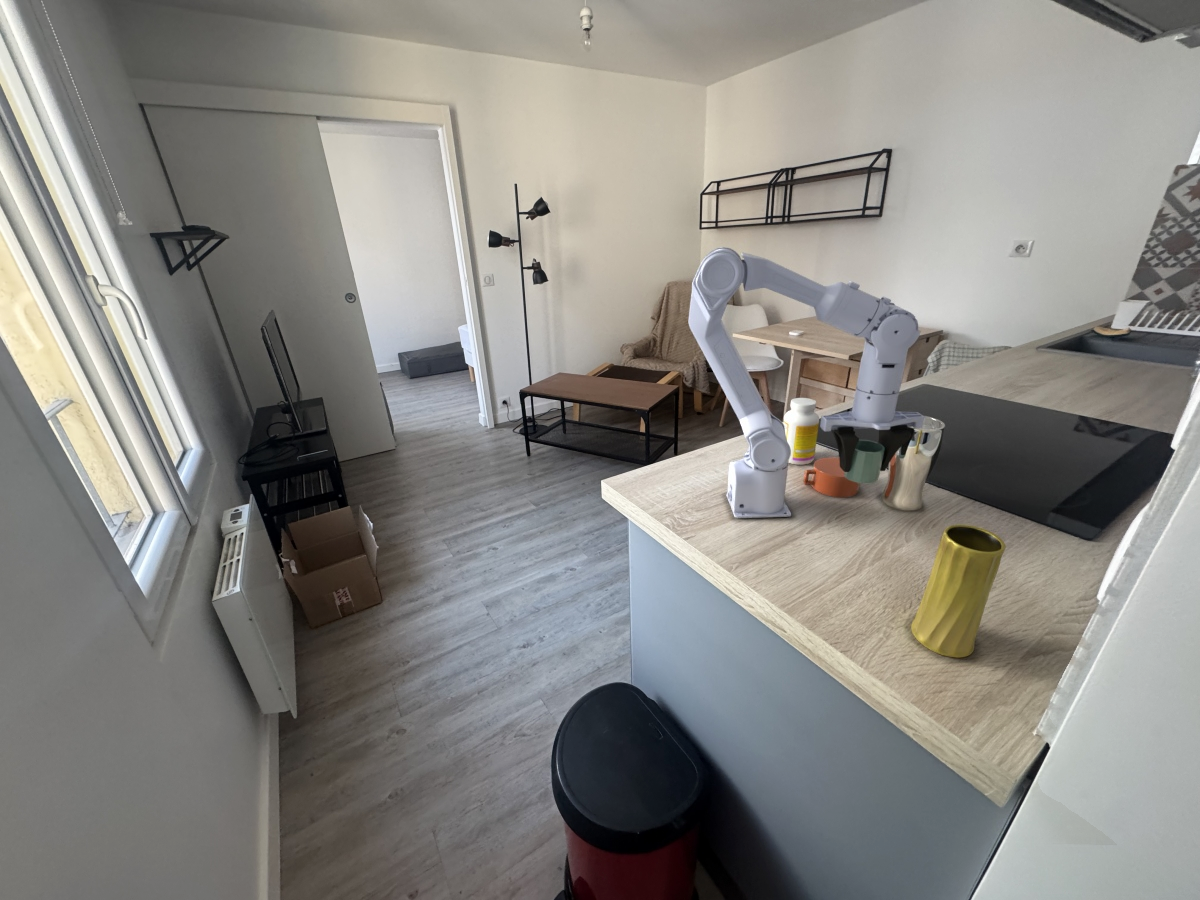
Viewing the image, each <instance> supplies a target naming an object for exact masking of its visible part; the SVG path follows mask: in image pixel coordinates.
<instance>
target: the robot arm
mask: <svg viewBox="0 0 1200 900" xmlns="http://www.w3.org/2000/svg"><path fill="white" fill-rule="evenodd" d="M740 254H741V256H740ZM740 254H739V253H738V252H737V251H736V250H734V249H732V248H731V247H726V246H721V247H716V248H714V249H712V250H711V251H709V252H707V254H706V255H705V257H704V258H703V260H702V261H701V263H700V264H699V266H698V268H697V271H696V273H695V275H694V277H693V279H692V282H691V295H690V303H689V313H688V326H689V329H690V331H691V333H692V335H693V337H694V339H695V340H696V342H697V344H698V346H699V348H700V349H701V351H702V353H703V355H704V358H705V359H706V361H707V363H708V365H709V367H710V369H711V370H712V371H713V374H714V376H715V377H716V380H717V381H718V384H719V385H720V387H721V389H722V391H723V392H724V394H725V396H726V398H727V400H728V402H729V404H730V406H731V408H732V409H733V412H734V413H735V415H736V417H737V419H738V421H739V424H740V426H741V429H742V432H743V436H744V438H745V440H746V442H747V445H748V449H747V450H746V453H744V455H743V457H742V458H741V459H737V460H733V461H730V462H729V464H728V471H727V472H728V473H727V488H726V489H727V492H726V493H725V495H726V498H727V501H728V503H729V506H730V509H731V511H732V514H733V517H734V518H736V519H753V518H783V517H784V518H788V517H791V516H792V512H791V510H790V509H789V507H788V506H787V503H786V502H785V495H786V494H785V493H786V487H787V480H788V479H787V478H788V470H789V464H790V463H789V458H790V455H791V449H790V445H789V444H788V442H787V438H786V435H785V427H784V425H783V424H784V422H783V421H782V420H781V419H780V418H778V417H776V416H775V415H773V413H772V411H770V408H769V407H768V406H767V404H766V403H765V402H764V399H763V398H762V396H761V393H760V392H759V390H758V388H757V386H756V384H755V383H754V380H753V378H752V375H751V374H750V372H749V370H748V369H747V367H746V365H745V362H744V361H743V359H742V357H741V354H740V353H739V351H738V349H737V347H736V345H735V343H734V341H733V339H732V337H731V336H730V333H729V331H728V330H727V328H726V326H725V323H724V321H723V317H724V315H725V312H726V309H727V306H728V303H729V301H730V300H731V299H732V297H733V296H734V295H735V294H736V292H737V291H738V290H739V288H740V287H741V285H742V287H743V291H744V292H748V291H754V290H759V289H767V290H768V291H772V292H774V293H777V294H780V295H782V296H785V297H787V298H790V299H792V300H795V301H797V302H799V303H802V304H805V305H807V306H810V307H812V308H813V309H814V312H815V317H816V319H817V320H818V321H819V322H821V323H824V324H826V325H829V326H831V327H832V328H835V329H838V330H840V331H842V332H845V333H846V334H848V335H851V336H853V337H855V338H864V339H865V341H864V345H863V351H862V356H861V359H860V362H859V363H860V364H859V370H858V374H857V381H856V386H855V392H854V398H853V403H852V408H851V410H850V411H846V412H840V413H834V414H827V415H821V416H820V422H819V428H821V430H822V431H823V432H831V433H832V435H833V439H834V441H835V445H836V448H837V451H838V458H839V460H840V468H841V469H842V470H843V471H844V472H849V471H850V468H851V463H852V457H853V453H854V450H855V447H856V445H857V443H858V441H859V440H860V438H859V437H858V436H857V435H856V431H854V430H857V429H858V430H859V429H875V430H877V431H878V441H877V443H879V444H881V445H883V446H884V447H885V450H884V455H883V460H882V464H881V469H880V472H885V471H886V470H887V468H888V464H889V462H890V461H891V459H892V458H893V456H894V455H895V453H896V452H897V451H898V450H899V448H900V447H901V446H902V445H903V444H904V443H905V442H907V441H908V440H909V439H910V436H911V432H910V431H908V430H907V427H914V428H922V425H923V421H924V416H925V415H923V414H921V413H920V412H918V411H897V410H896V409H897V404H898V399H899V395H900V391H901V386H902V383H903V382H902V381H903V377H904V372H905V368H906V364H907V356H908V351H909V349H910V348H912V346H913V345H914V344H915V343H916V342H917V341H918V339H919V337H920V335H921V330H919V322H918V319H916V316H915V314H913V313H912V312H911V311H909V310H906V309H904V308H902V307H901V306H899V305H896V304H895V302H892V299H891V298H889V297H886V296H881V298H879V297H878V296H875V295H872V294H870V293H868V292H865V291H863V290H861V289H860V284H859V283H857V282H854V281H851V280H849V281H848V282H847V283H845V282H843V281H838V282H835V283H832V284H830V285H823V284H820V283H819V282H816V281H814V280H812V279H810V278H808V277H806V276H804V275H802V274H799V273H798V272H796V271H793V270H792V269H789V268H787V267H785V266H783V265H781V264H778V263H776V262H774V261H772V260H770V259H768V258H765V257H761V256H758V255H754V254H751V253H747V252H742V251H740ZM741 257H742V258H743V259H742V258H741Z"/></svg>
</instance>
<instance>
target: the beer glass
mask: <svg viewBox="0 0 1200 900" xmlns="http://www.w3.org/2000/svg"><path fill="white" fill-rule="evenodd" d="M923 416H924V421H923V425H922V428H914V427H907V430H908V431H910V432H911V436H910V439H909V440H908V441H907V442H905V443H904V444H903V445H902V446H901V447H900V448H899V450H898V451H897V452H896V453H895V455H894V456H893V458H892V459H891V461H890V462H889V464H888V466H887V468H888V471H887V473H888V474H887V475H888V476H887V481H886V484H885V487H884V489H883V491H882V493H881V496H880V499H881V501H882V503H884V504H885V505H887V506H888V507H890V508H893V509H896V510H900V511H906V512H908V511H909V512H912V511H917V510H920V509H921V508H922V506H923V493H924V488H925V485H926V482H927V481H928V478H929V476H930V475H931V473H932V471H933V468H934V467H935V465H936V462H937V460H938V459H939V455H940V453H941V449H942V443H943V438H944V432H945V428H946V424H945V422H943V421H941V420H940V419H938V418H934V417H931V416H927V415H923Z"/></svg>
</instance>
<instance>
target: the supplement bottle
mask: <svg viewBox="0 0 1200 900" xmlns="http://www.w3.org/2000/svg"><path fill="white" fill-rule="evenodd" d="M789 405H790V406H789V407H790V410H788V411H787V412H785V414H784V417H783V425H784V427H785V435H786V438H787V442H788V444H789V445H790V449H791V455H790V458H789V463H788V464H790V465H791V464H792V465H796V466H798V465H799V466H802V465H809V464H811V463H812V462H813V461H814V460H815V455H816V447H817V441H818V434H819V433H818V432H819V427H820V417H819V414H818V413H816V412H815V410H816V408H817V401H816V400H815V399H812V398H808V397H795V398H792V399H791V400H790V404H789Z"/></svg>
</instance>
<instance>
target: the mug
mask: <svg viewBox="0 0 1200 900" xmlns="http://www.w3.org/2000/svg"><path fill="white" fill-rule="evenodd" d="M810 475H811V479H810V480H809V477H810ZM802 482H803V485H804V486H811V487H812V488H813V490H815V491H816V492H818V493H820V494H822V495H825V496H829V497H833V498H850V497H853V496H856V495H857V494H858V493H859V490H860V485H861V483H857V482H853V481H851V480H849V479H847V478H846V477H845V476H844V471H843V470H842V469H841V468H840V460H839V457H835V456H828V457H820V458H818V459H816V460H815V461H814V463H813V467H812V469H805V471H804V474H803V481H802Z"/></svg>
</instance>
